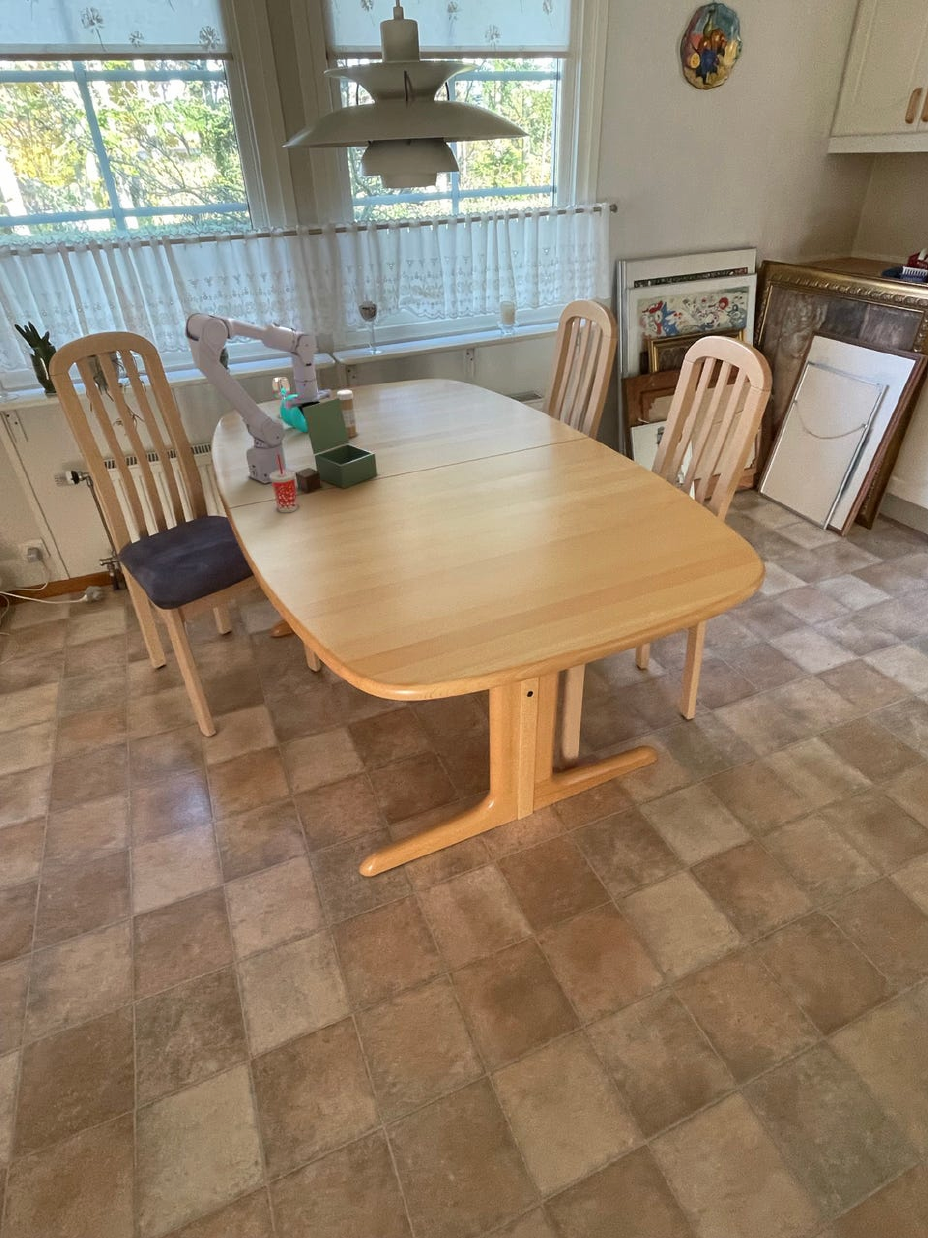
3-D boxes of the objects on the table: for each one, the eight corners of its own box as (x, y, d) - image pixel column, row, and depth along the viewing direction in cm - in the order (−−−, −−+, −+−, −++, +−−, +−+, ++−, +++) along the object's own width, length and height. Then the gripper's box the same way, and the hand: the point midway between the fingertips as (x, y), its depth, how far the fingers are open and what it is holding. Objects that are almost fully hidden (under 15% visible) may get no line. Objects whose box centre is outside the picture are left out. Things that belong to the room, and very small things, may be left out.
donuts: (296, 436, 215) (291, 404, 209) (281, 428, 221) (275, 397, 215) (324, 429, 220) (320, 397, 214) (309, 421, 226) (304, 390, 220)
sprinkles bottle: (351, 431, 217) (347, 388, 210) (359, 435, 214) (355, 391, 207) (339, 435, 215) (333, 391, 207) (347, 439, 212) (341, 394, 204)
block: (307, 492, 180) (305, 477, 178) (297, 488, 183) (295, 472, 180) (321, 487, 183) (319, 471, 180) (311, 483, 185) (309, 467, 183)
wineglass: (276, 414, 233) (270, 377, 226) (293, 412, 234) (288, 375, 227) (278, 419, 228) (271, 382, 221) (295, 417, 230) (289, 380, 223)
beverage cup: (305, 508, 173) (296, 454, 165) (283, 516, 169) (273, 461, 161) (292, 500, 176) (282, 447, 168) (270, 508, 173) (260, 454, 165)
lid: (339, 397, 186) (337, 397, 186) (303, 408, 179) (302, 408, 179) (349, 442, 191) (347, 441, 192) (315, 454, 184) (313, 453, 185)
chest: (377, 475, 189) (375, 453, 185) (343, 488, 182) (340, 466, 178) (351, 464, 195) (348, 443, 192) (317, 477, 188) (314, 455, 185)
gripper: (291, 388, 179) (299, 439, 187) (336, 375, 187) (342, 425, 195) (276, 383, 183) (284, 433, 191) (320, 371, 191) (327, 419, 199)
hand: (312, 428), depth 193 cm, fingers closed
